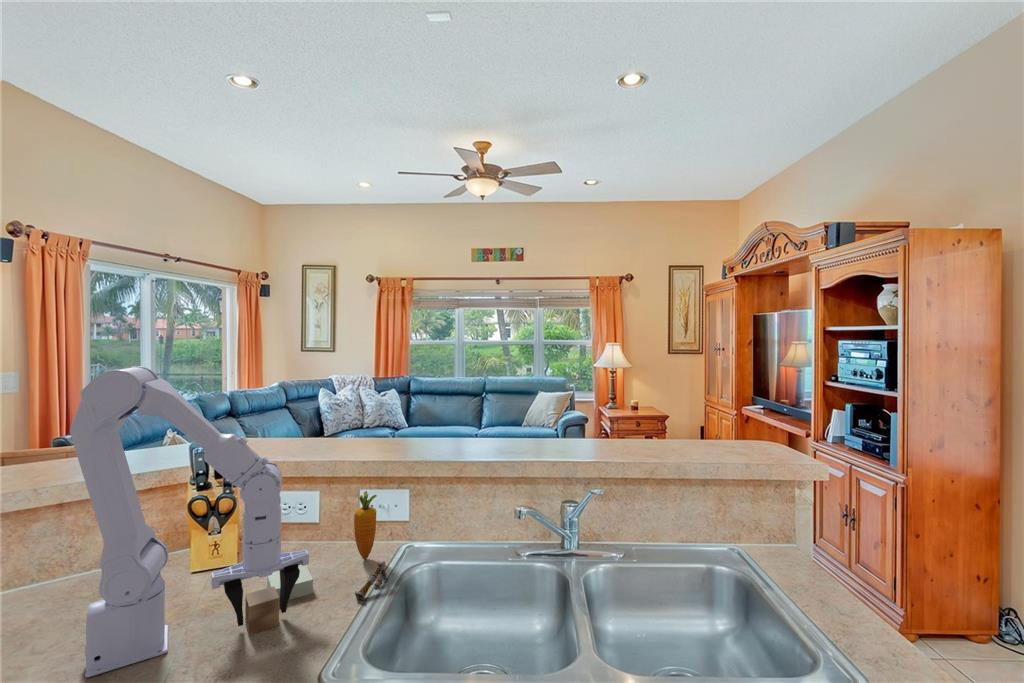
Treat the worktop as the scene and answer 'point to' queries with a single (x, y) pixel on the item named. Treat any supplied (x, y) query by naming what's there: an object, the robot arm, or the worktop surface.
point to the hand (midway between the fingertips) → (262, 616)
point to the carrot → (365, 526)
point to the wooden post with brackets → (372, 579)
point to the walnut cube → (261, 611)
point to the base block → (301, 586)
